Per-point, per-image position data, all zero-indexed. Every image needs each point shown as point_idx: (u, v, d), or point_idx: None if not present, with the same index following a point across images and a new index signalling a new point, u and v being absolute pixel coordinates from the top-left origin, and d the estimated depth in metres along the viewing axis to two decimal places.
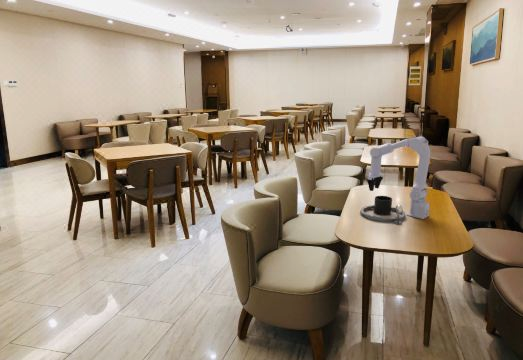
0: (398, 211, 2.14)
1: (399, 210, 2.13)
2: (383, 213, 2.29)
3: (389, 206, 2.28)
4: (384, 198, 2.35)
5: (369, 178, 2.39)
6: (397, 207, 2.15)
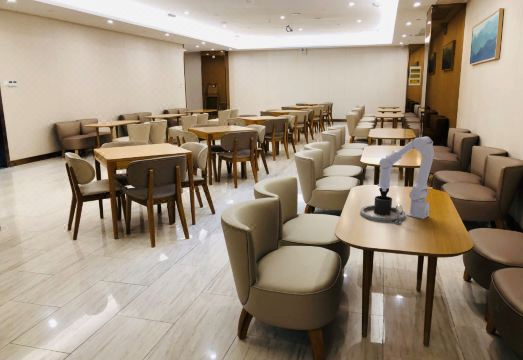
0: (398, 211, 2.14)
1: (399, 210, 2.13)
2: (383, 213, 2.29)
3: (389, 206, 2.28)
4: (384, 198, 2.35)
5: (384, 190, 2.36)
6: (397, 207, 2.15)
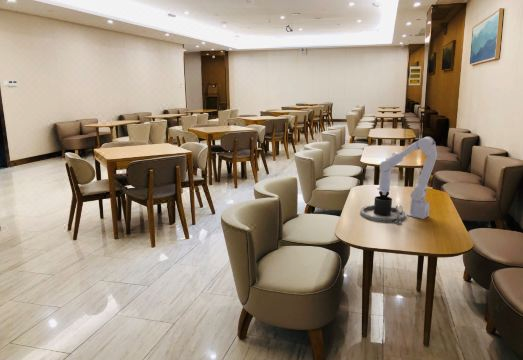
0: (398, 211, 2.14)
1: (399, 210, 2.13)
2: (383, 213, 2.28)
3: (389, 206, 2.28)
4: (384, 198, 2.35)
5: (383, 193, 2.31)
6: (397, 207, 2.15)
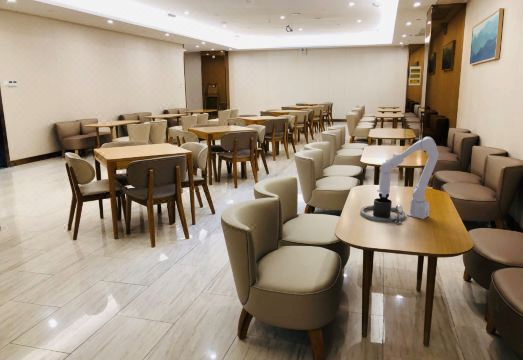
0: (398, 211, 2.14)
1: (399, 210, 2.13)
2: (382, 216, 2.24)
3: (388, 209, 2.23)
4: (384, 201, 2.30)
5: (383, 195, 2.27)
6: (397, 207, 2.15)
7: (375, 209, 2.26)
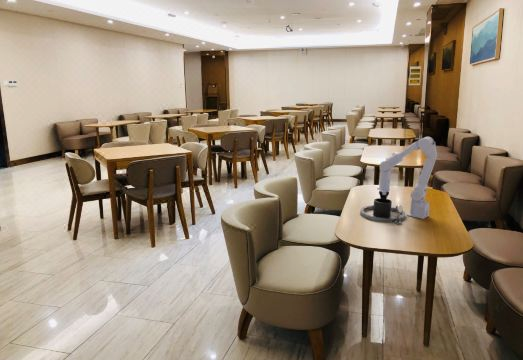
0: (398, 211, 2.14)
1: (399, 210, 2.13)
2: (382, 216, 2.24)
3: (388, 209, 2.23)
4: (384, 201, 2.30)
5: (383, 193, 2.31)
6: (397, 207, 2.15)
7: (375, 209, 2.26)
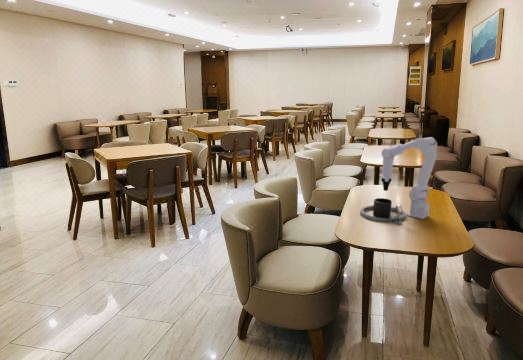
0: (398, 211, 2.14)
1: (399, 210, 2.13)
2: (382, 216, 2.24)
3: (388, 209, 2.23)
4: (384, 201, 2.30)
5: (386, 180, 2.37)
6: (397, 207, 2.15)
7: (375, 209, 2.26)
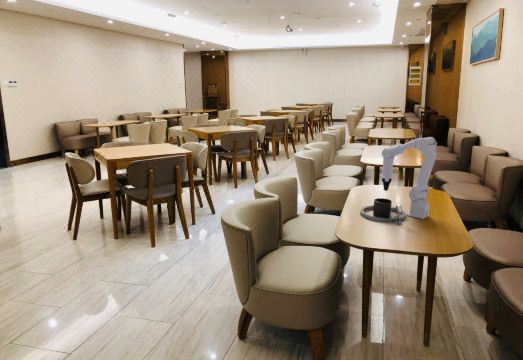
0: (398, 211, 2.14)
1: (399, 210, 2.13)
2: (382, 216, 2.24)
3: (388, 209, 2.23)
4: (384, 201, 2.30)
5: (386, 180, 2.37)
6: (397, 207, 2.15)
7: (375, 209, 2.26)
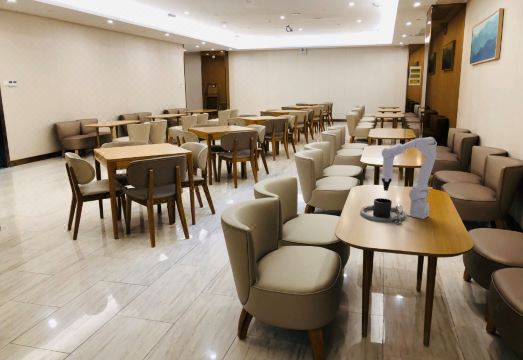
0: (398, 211, 2.14)
1: (399, 210, 2.13)
2: (382, 216, 2.24)
3: (388, 209, 2.23)
4: (384, 201, 2.30)
5: (386, 180, 2.37)
6: (397, 207, 2.15)
7: (375, 209, 2.26)
